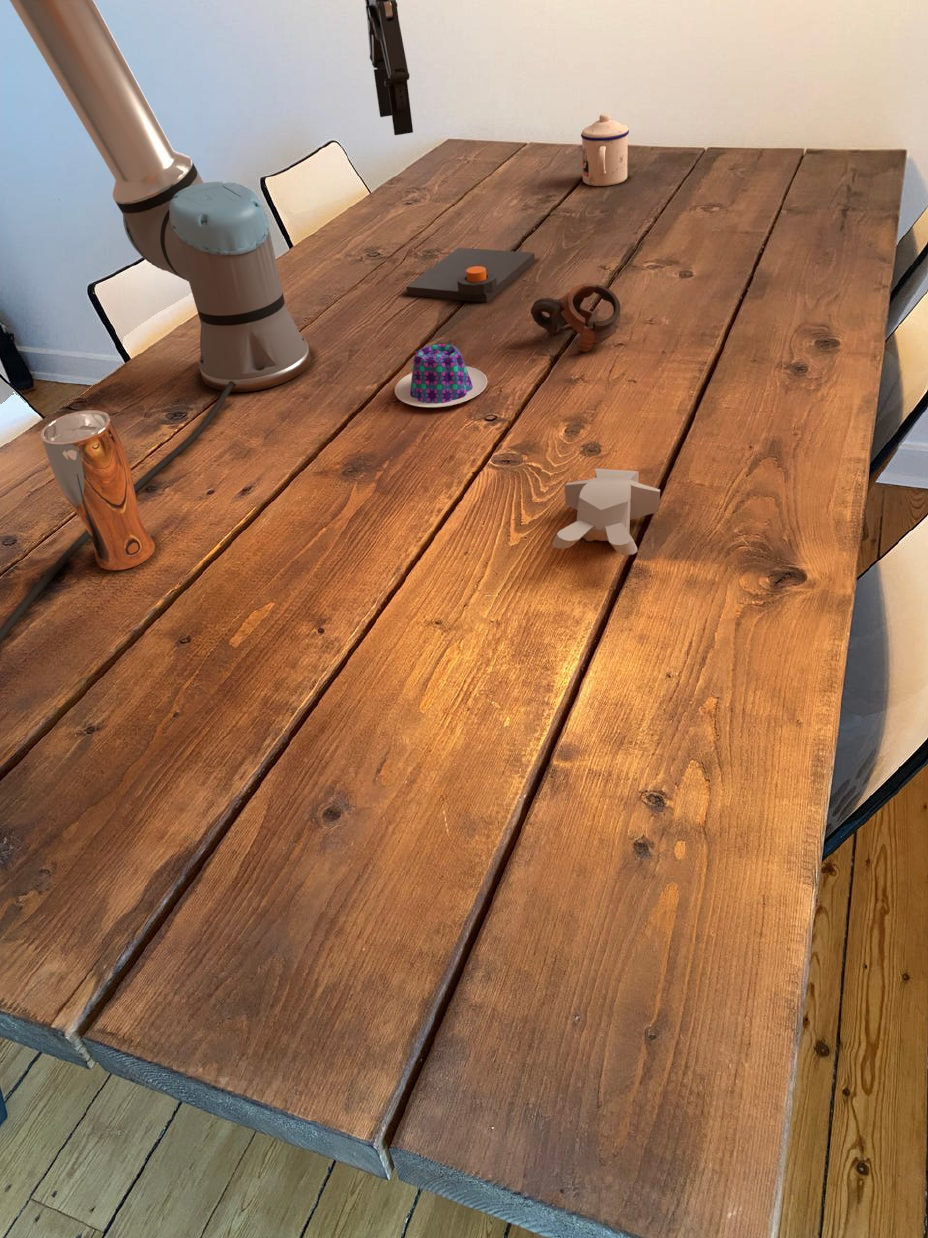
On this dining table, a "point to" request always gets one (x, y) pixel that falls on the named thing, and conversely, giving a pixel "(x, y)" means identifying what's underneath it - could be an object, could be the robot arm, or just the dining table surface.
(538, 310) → the rusty split ring clamp
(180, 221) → the robot arm
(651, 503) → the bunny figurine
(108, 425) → the beer glass
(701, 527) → the dining table surface
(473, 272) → the button
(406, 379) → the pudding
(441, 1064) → the dining table surface
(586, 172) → the teacup with lid
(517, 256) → the scale
